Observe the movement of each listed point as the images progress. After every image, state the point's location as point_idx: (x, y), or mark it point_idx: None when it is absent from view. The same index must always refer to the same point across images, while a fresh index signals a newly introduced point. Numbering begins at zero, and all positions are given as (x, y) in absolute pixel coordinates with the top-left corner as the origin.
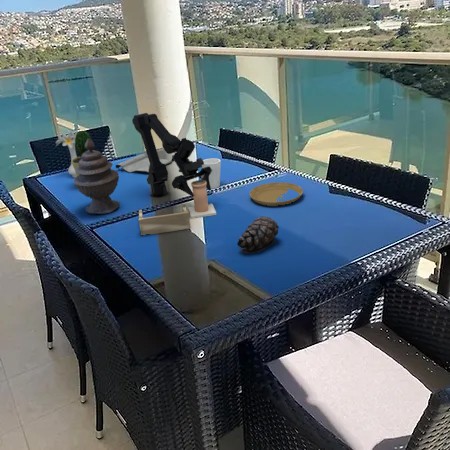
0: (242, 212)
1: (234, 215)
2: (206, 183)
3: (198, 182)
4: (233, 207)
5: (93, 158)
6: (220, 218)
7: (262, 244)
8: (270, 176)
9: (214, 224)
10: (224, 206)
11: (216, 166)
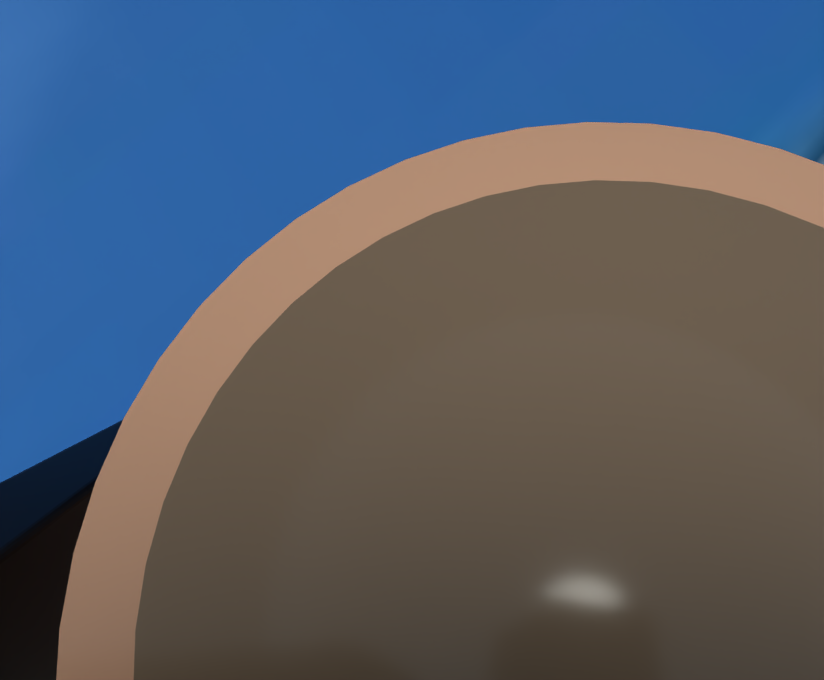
0: (146, 26)
1: (295, 39)
2: (311, 241)
3: (633, 664)
4: (50, 259)
5: None
6: (502, 119)
7: None
8: None
9: (713, 39)
10: (84, 418)
11: None
